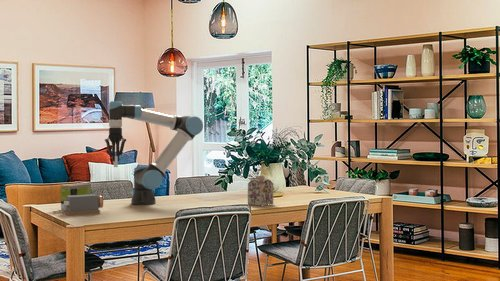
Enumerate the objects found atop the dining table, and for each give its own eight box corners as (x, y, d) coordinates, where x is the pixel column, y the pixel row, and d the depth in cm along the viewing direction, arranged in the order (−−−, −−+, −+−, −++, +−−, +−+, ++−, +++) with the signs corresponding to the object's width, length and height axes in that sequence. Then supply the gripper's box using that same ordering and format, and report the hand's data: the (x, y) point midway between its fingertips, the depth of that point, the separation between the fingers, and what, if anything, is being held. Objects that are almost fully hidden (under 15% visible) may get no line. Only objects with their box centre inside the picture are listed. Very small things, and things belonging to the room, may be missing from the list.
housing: (93, 211, 386) (93, 193, 386) (99, 213, 376) (99, 195, 376) (63, 213, 378) (63, 195, 378) (69, 215, 368) (69, 197, 367)
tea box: (81, 207, 405) (81, 182, 404) (92, 208, 398) (91, 183, 398) (60, 209, 393) (60, 184, 392) (70, 211, 387) (70, 185, 386)
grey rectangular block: (99, 207, 386) (99, 194, 385) (103, 208, 380) (103, 196, 379) (62, 209, 375) (62, 196, 375) (66, 210, 369) (66, 198, 369)
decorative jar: (273, 204, 418) (273, 175, 417) (261, 206, 409) (261, 177, 409) (259, 203, 426) (259, 174, 425) (246, 204, 417) (247, 175, 417)
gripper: (123, 127, 406) (124, 166, 407) (102, 127, 400) (103, 166, 401) (128, 127, 400) (128, 167, 401) (106, 127, 393) (106, 167, 394)
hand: (115, 166), depth 401 cm, fingers closed
